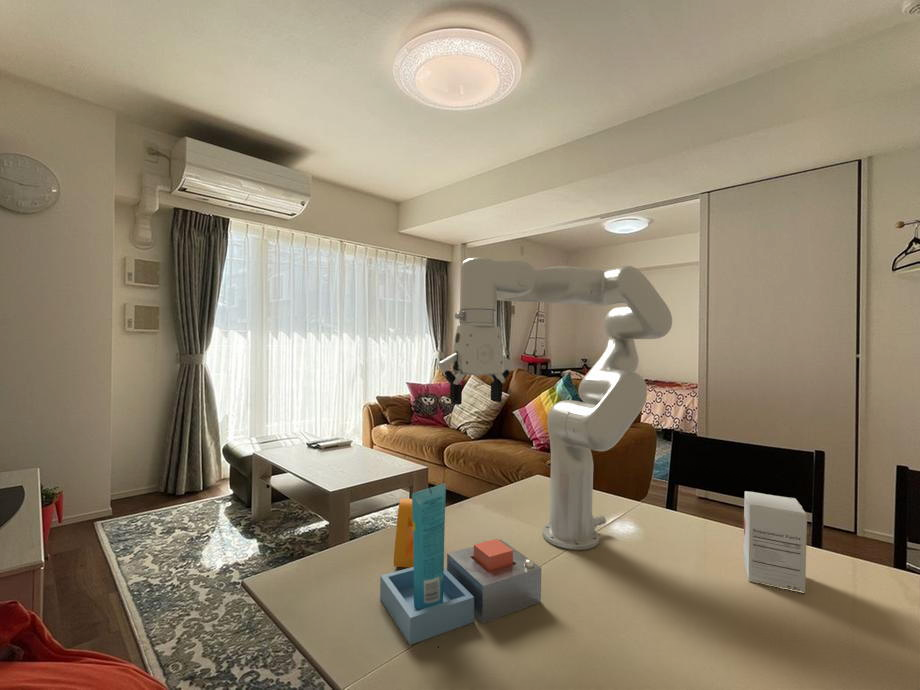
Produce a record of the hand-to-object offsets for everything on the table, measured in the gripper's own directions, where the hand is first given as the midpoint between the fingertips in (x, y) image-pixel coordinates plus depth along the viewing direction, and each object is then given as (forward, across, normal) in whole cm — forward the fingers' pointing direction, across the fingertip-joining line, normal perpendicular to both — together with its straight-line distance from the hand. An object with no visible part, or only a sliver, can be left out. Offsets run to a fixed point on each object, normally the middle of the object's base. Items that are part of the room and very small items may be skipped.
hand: (476, 402), depth 88 cm
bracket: (+33, -10, +6) cm, 35 cm away
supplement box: (+33, +48, -33) cm, 67 cm away
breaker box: (+32, -4, -12) cm, 35 cm away
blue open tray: (+32, -16, -10) cm, 38 cm away
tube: (+32, -16, -10) cm, 37 cm away
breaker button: (+31, -4, -12) cm, 33 cm away
